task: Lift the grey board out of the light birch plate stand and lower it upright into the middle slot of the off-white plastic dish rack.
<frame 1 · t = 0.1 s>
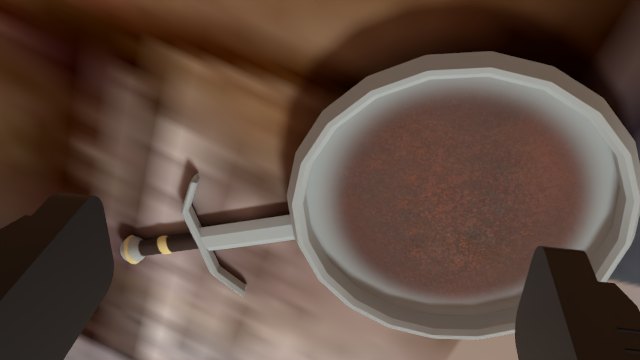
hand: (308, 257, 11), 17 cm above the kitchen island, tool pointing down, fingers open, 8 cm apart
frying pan: (352, 206, 32), on the kitchen island
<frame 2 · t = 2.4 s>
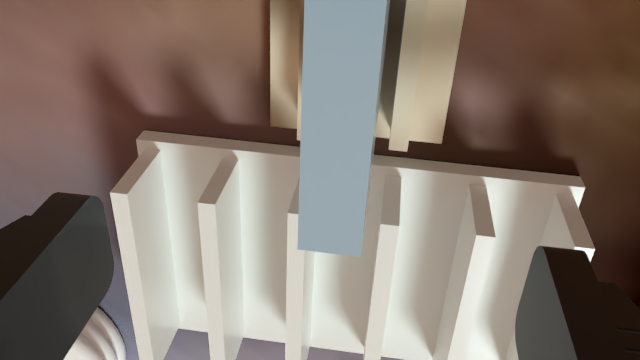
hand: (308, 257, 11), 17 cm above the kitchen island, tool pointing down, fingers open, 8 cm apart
coaster: (58, 330, 40), on the kitchen island
grey board: (365, 5, 24), point 1 cm above the kitchen island, touching plate stand
dish rack: (345, 254, 33), on the kitchen island
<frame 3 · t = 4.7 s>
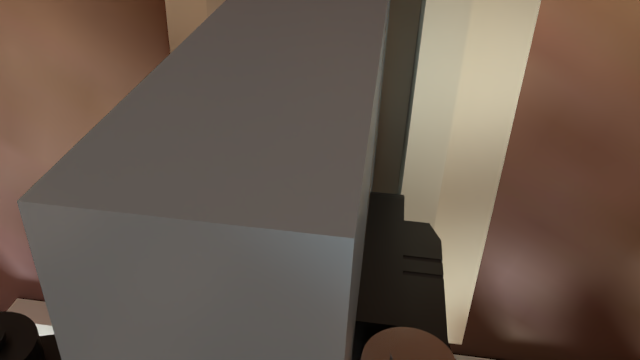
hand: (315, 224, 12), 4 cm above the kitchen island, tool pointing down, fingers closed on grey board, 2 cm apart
grey board: (334, 151, 14), point 1 cm above the kitchen island, touching gripper, plate stand
plate stand: (340, 133, 15), on the kitchen island
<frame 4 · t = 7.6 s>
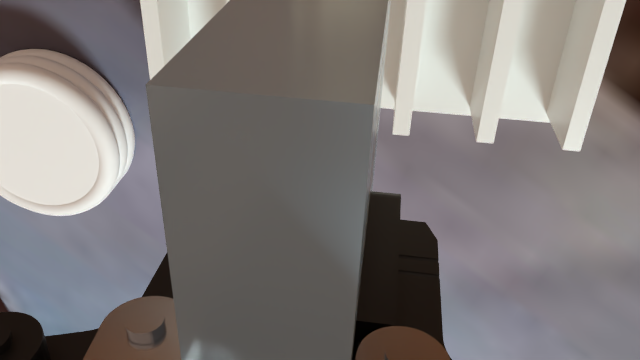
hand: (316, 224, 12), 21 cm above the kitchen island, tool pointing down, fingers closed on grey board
coaster: (63, 121, 37), on the kitchen island
grey board: (342, 118, 16), point 16 cm above the kitchen island, touching gripper
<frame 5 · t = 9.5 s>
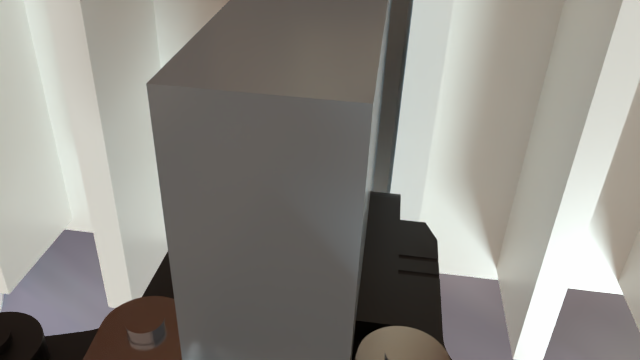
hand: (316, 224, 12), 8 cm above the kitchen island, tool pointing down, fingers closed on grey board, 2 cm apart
grey board: (343, 117, 16), point 3 cm above the kitchen island, touching gripper
dish rack: (346, 77, 18), on the kitchen island
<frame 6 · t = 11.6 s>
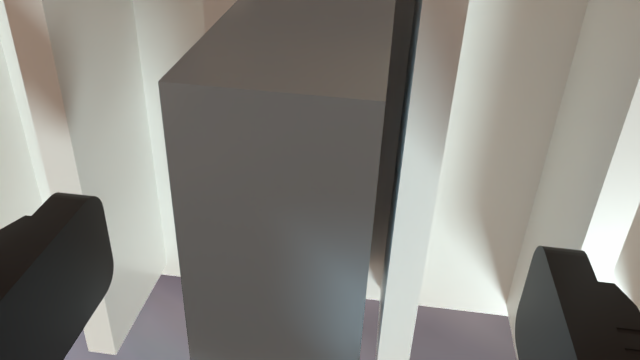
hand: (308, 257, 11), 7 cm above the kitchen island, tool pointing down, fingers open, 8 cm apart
grey board: (346, 118, 16), point 1 cm above the kitchen island, touching dish rack
dish rack: (345, 102, 17), on the kitchen island
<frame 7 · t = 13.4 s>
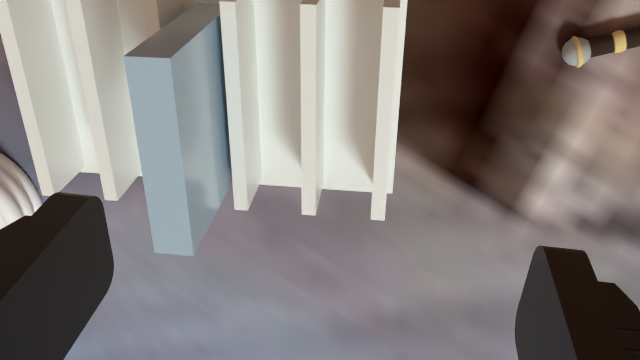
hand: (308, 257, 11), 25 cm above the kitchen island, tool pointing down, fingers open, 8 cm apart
grey board: (221, 88, 35), point 1 cm above the kitchen island, touching dish rack
dish rack: (223, 82, 36), on the kitchen island
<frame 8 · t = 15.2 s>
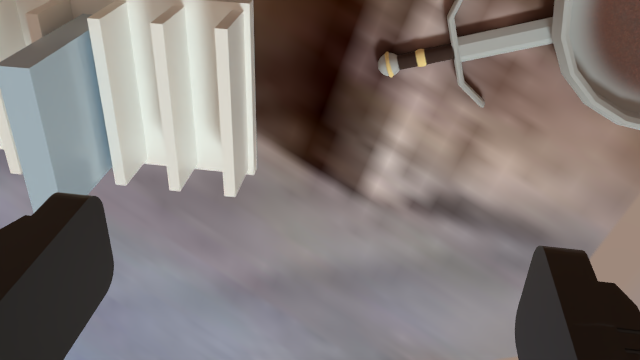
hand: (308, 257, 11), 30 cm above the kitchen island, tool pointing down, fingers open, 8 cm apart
grey board: (107, 83, 43), point 1 cm above the kitchen island, touching dish rack
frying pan: (595, 15, 37), on the kitchen island
dish rack: (111, 78, 43), on the kitchen island
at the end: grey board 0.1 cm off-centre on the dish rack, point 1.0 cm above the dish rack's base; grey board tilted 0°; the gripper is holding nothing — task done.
